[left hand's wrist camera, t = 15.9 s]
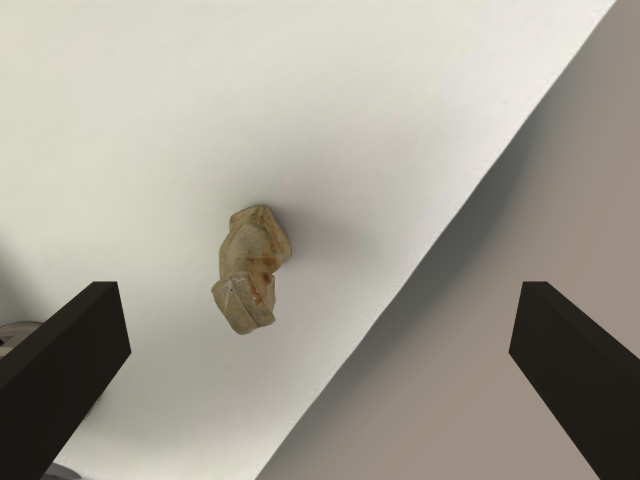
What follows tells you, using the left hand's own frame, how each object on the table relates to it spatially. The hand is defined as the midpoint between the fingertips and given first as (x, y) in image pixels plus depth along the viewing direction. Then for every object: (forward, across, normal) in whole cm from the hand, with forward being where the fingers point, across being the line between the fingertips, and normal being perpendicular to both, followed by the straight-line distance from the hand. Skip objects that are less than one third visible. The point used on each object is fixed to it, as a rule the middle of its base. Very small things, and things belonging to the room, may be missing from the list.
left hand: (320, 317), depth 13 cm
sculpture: (+29, +6, +7) cm, 31 cm away
